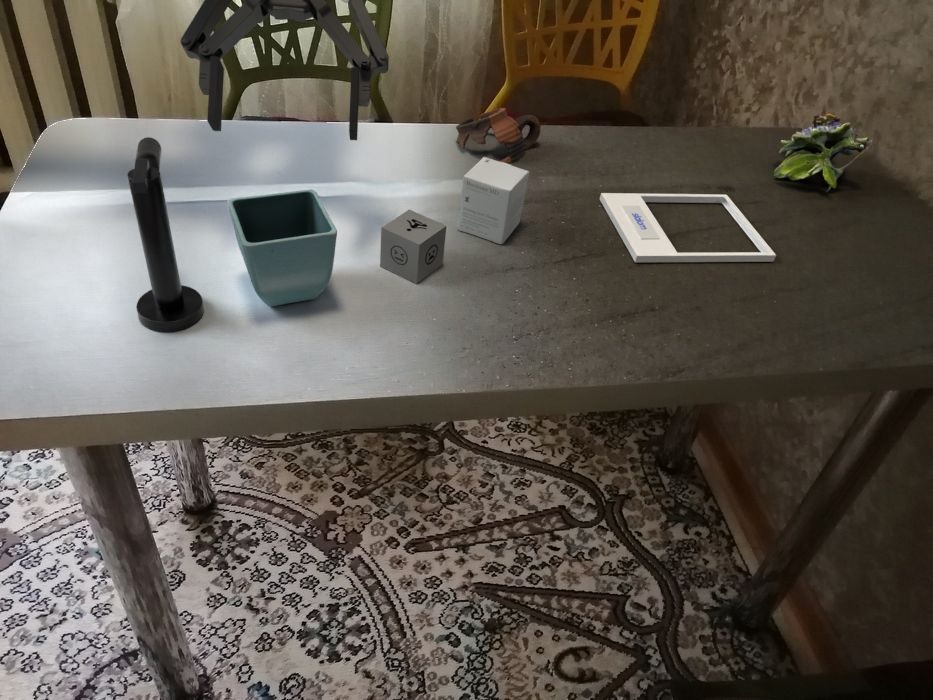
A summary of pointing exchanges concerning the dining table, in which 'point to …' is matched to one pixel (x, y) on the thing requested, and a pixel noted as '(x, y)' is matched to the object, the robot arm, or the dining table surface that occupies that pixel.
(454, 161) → the dining table surface
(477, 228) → the product box
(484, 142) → the pottery mug
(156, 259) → the tap
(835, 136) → the passion flower
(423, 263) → the dice cube
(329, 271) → the flower pot
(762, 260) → the photo frame
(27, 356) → the dining table surface
